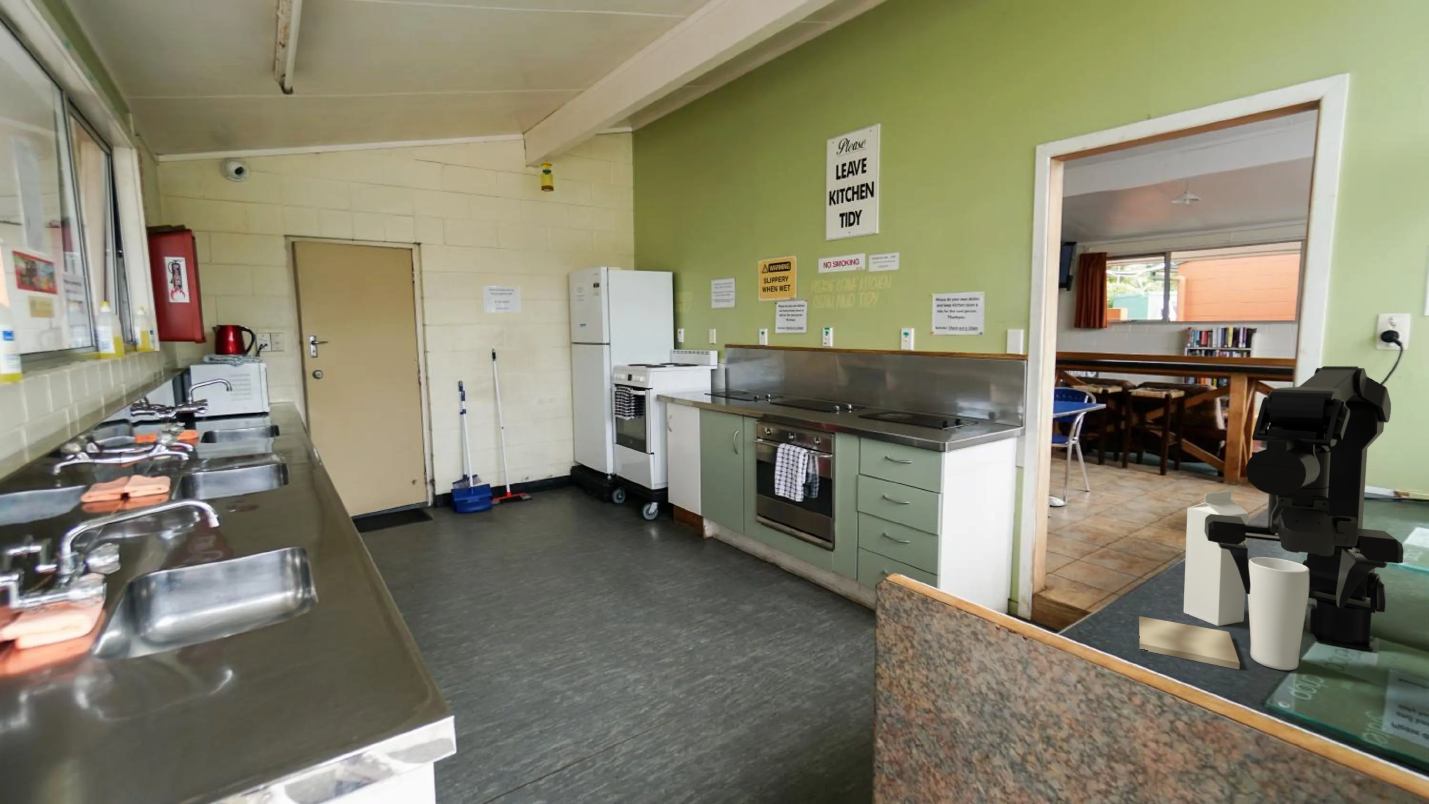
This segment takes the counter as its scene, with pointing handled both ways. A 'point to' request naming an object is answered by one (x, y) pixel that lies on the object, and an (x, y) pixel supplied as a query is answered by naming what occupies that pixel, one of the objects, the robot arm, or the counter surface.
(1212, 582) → the milk
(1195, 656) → the birch board
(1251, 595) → the drinking glass
